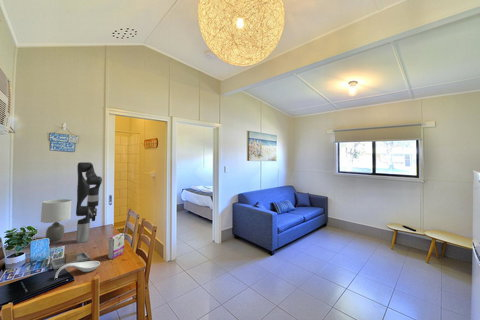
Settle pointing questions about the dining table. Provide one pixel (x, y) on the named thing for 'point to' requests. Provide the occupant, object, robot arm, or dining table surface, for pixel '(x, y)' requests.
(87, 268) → the spoon rest
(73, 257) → the cube
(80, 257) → the tray
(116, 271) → the dining table surface
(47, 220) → the lamp
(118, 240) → the candy bar box
